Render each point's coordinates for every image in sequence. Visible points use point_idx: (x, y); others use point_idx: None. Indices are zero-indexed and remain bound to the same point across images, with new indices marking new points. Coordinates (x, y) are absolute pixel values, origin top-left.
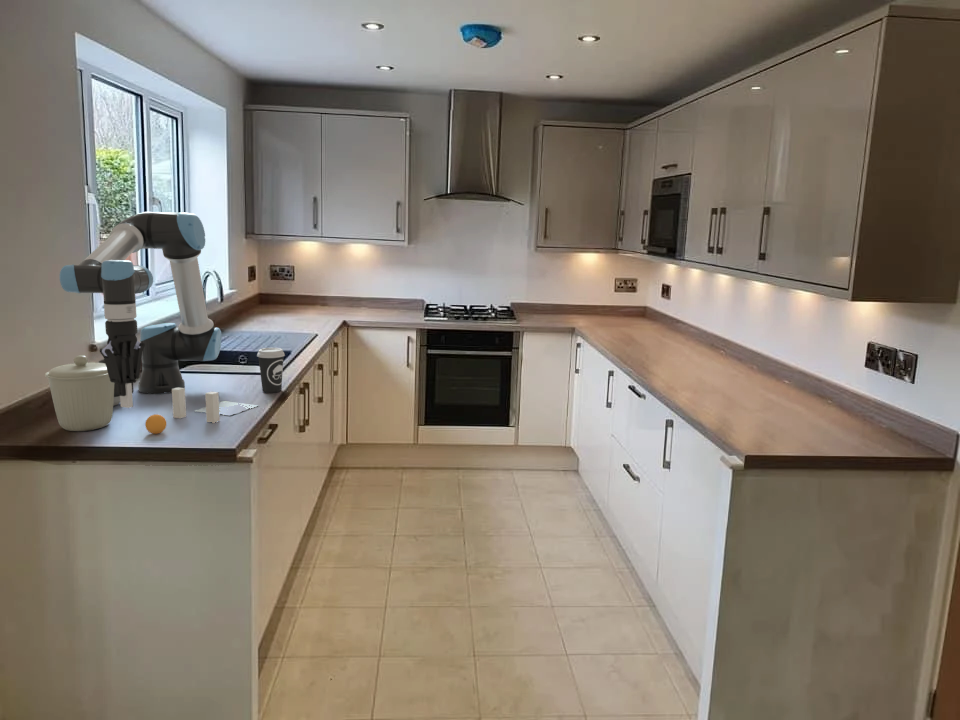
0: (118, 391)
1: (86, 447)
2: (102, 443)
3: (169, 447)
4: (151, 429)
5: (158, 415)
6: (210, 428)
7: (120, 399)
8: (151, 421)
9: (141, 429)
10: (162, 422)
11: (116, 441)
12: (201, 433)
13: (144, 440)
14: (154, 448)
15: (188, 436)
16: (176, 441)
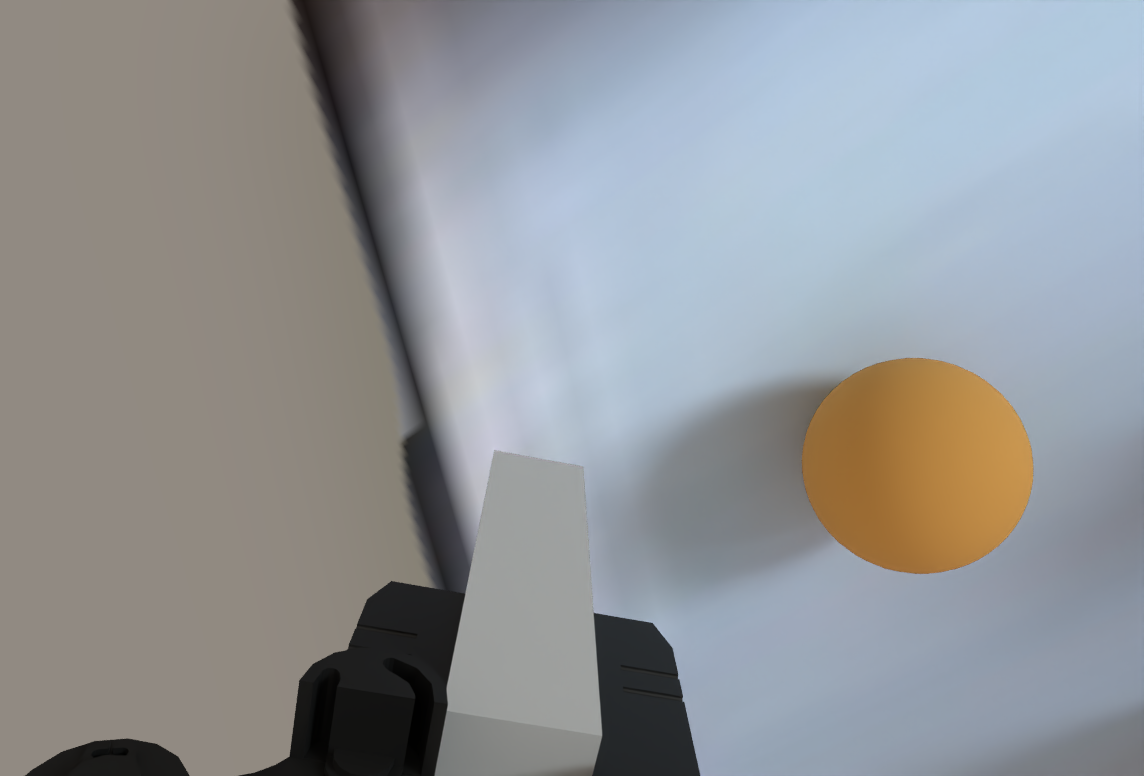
0: (350, 643)
1: (311, 42)
2: (470, 116)
3: None
4: (802, 461)
5: (950, 544)
6: (1078, 769)
7: (483, 507)
8: (836, 497)
9: (1000, 201)
10: (885, 567)
11: (563, 213)
12: (923, 771)
13: (648, 446)
14: None
15: (825, 720)
16: None
